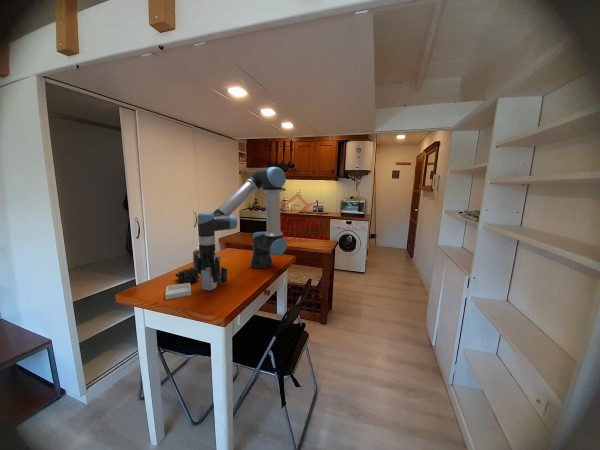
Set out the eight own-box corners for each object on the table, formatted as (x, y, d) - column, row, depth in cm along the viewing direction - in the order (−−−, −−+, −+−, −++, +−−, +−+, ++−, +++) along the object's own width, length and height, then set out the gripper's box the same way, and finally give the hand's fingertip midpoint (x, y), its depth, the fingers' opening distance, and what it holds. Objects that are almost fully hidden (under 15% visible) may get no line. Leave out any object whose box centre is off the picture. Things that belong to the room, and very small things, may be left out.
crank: (211, 278, 125) (211, 264, 124) (218, 276, 128) (218, 262, 127) (222, 285, 117) (222, 269, 116) (229, 283, 120) (229, 268, 119)
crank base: (220, 280, 129) (220, 272, 129) (222, 283, 125) (221, 275, 124) (203, 282, 125) (202, 274, 124) (204, 286, 120) (203, 277, 120)
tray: (190, 287, 119) (190, 282, 119) (191, 295, 110) (190, 290, 109) (166, 290, 114) (166, 286, 114) (165, 300, 105) (165, 295, 104)
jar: (208, 273, 139) (208, 250, 137) (190, 272, 140) (189, 249, 137) (216, 267, 151) (215, 245, 149) (199, 266, 151) (198, 245, 149)
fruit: (167, 282, 121) (192, 283, 119) (169, 267, 123) (194, 267, 120) (178, 282, 130) (202, 282, 127) (180, 267, 131) (203, 268, 129)
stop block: (208, 285, 118) (207, 267, 117) (216, 286, 117) (215, 268, 115) (202, 289, 114) (201, 270, 112) (210, 290, 112) (209, 271, 111)
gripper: (186, 243, 110) (189, 287, 114) (217, 247, 105) (219, 293, 109) (197, 240, 117) (200, 282, 121) (227, 243, 112) (228, 286, 116)
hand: (209, 287), depth 115 cm, fingers closed on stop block, 5 cm apart
